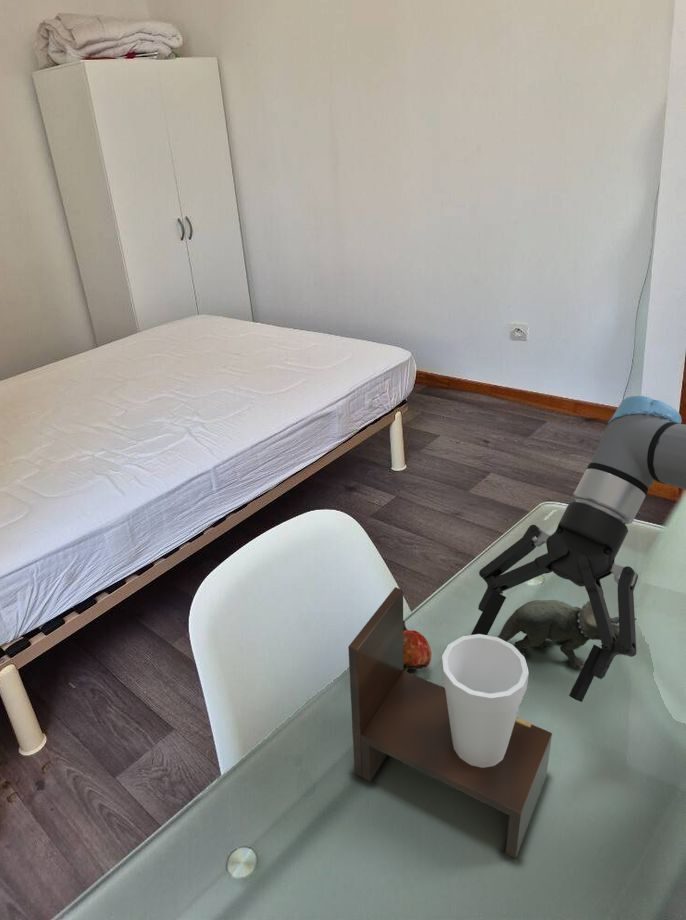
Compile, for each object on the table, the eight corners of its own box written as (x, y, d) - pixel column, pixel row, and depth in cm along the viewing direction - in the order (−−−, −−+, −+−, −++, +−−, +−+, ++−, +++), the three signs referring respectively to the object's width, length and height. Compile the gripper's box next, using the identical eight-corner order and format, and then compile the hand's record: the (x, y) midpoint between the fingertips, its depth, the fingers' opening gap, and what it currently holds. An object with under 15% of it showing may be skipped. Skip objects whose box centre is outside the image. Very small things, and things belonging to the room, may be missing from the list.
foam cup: (425, 726, 85) (427, 648, 80) (489, 702, 88) (495, 625, 82) (467, 791, 77) (472, 709, 72) (536, 762, 80) (546, 681, 74)
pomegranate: (434, 695, 102) (435, 626, 107) (427, 689, 96) (428, 617, 101) (385, 691, 105) (387, 624, 109) (375, 686, 98) (378, 615, 103)
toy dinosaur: (471, 659, 105) (474, 602, 100) (476, 621, 112) (479, 566, 108) (626, 687, 99) (638, 627, 94) (621, 645, 106) (632, 587, 101)
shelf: (546, 776, 87) (563, 646, 77) (515, 859, 78) (531, 723, 69) (396, 708, 98) (395, 586, 88) (354, 773, 89) (348, 646, 79)
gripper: (711, 563, 80) (631, 731, 78) (522, 487, 97) (453, 622, 95) (700, 546, 74) (614, 725, 72) (503, 469, 92) (429, 611, 89)
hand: (523, 667), depth 84 cm, fingers open, 13 cm apart
